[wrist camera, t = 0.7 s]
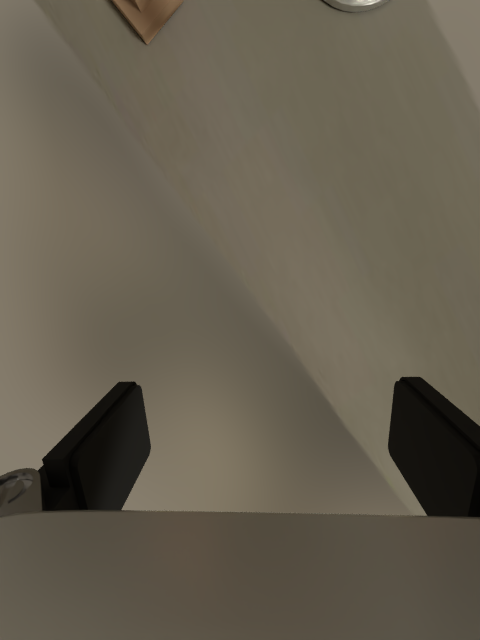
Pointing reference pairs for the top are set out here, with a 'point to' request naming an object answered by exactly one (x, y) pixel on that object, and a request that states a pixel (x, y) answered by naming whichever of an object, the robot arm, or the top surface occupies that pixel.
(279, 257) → the top surface
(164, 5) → the wooden block
